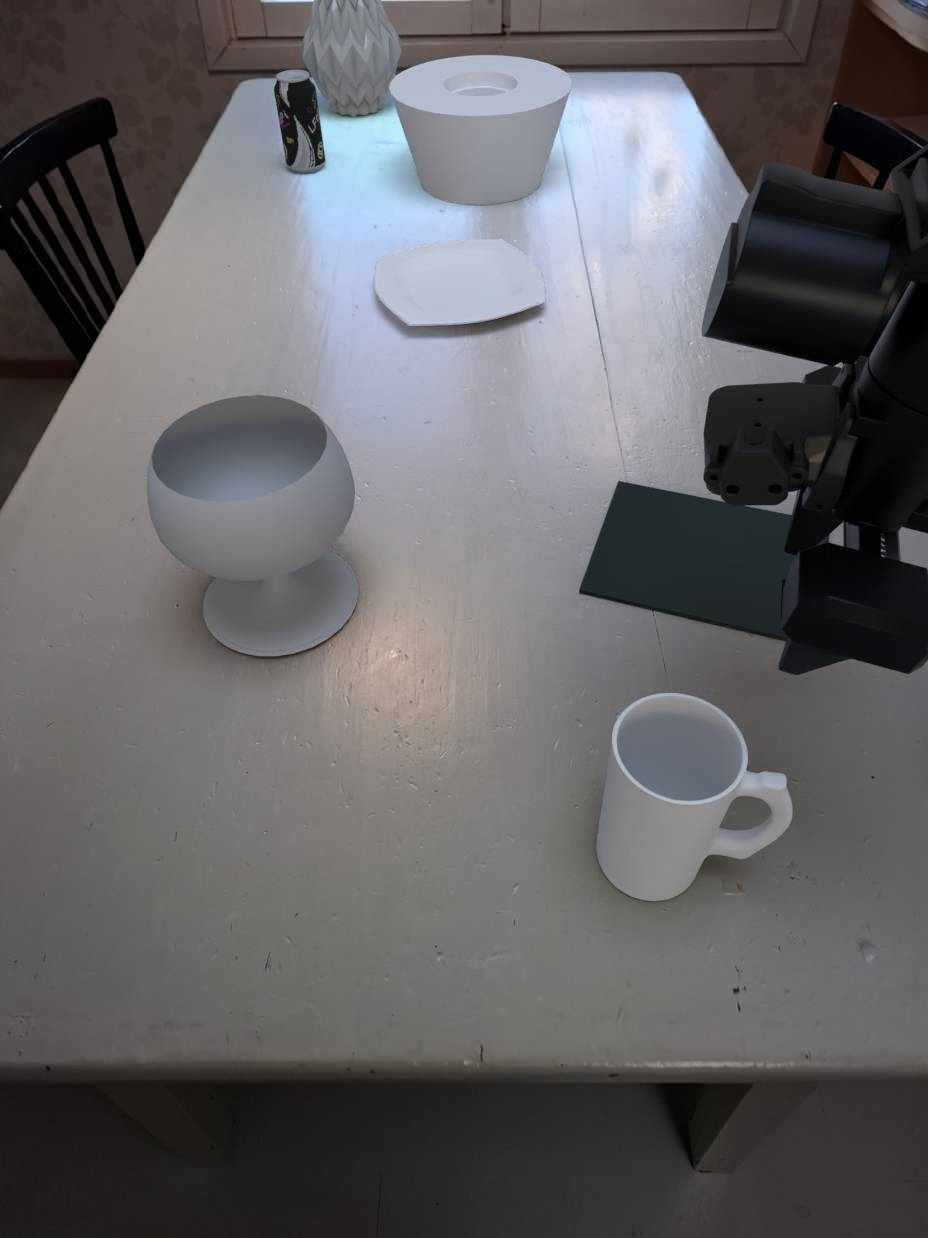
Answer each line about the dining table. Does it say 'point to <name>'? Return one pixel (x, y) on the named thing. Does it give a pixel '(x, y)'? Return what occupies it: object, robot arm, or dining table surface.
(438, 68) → the white tapered cylinder
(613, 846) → the mug
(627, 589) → the mat
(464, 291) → the plate
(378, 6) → the vase
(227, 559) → the chalice
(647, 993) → the dining table surface
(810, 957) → the dining table surface
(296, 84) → the beverage can
